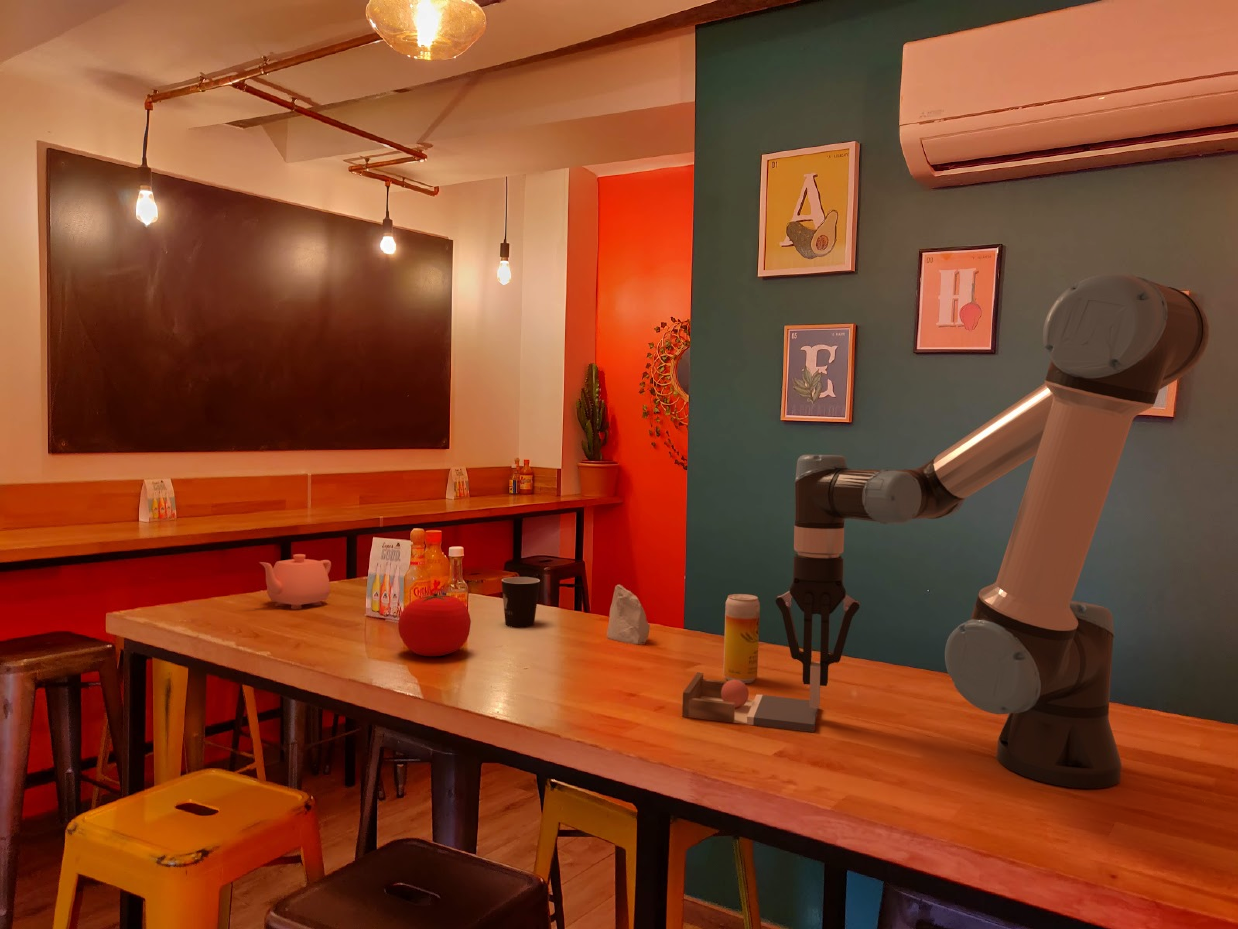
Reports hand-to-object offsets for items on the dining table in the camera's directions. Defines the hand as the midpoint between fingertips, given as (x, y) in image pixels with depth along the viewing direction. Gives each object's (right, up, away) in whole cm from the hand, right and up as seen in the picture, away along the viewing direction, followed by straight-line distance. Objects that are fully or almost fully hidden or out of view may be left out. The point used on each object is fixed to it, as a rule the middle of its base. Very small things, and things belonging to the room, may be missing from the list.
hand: (814, 705), depth 136 cm
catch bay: (-15, -2, +5) cm, 16 cm away
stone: (-28, 0, +49) cm, 57 cm away
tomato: (-66, +1, +33) cm, 74 cm away
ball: (-12, +1, +5) cm, 13 cm away
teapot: (-108, +3, +74) cm, 131 cm away
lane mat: (-9, -2, +3) cm, 10 cm away
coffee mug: (-53, +1, +62) cm, 81 cm away
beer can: (-9, -2, +22) cm, 23 cm away
